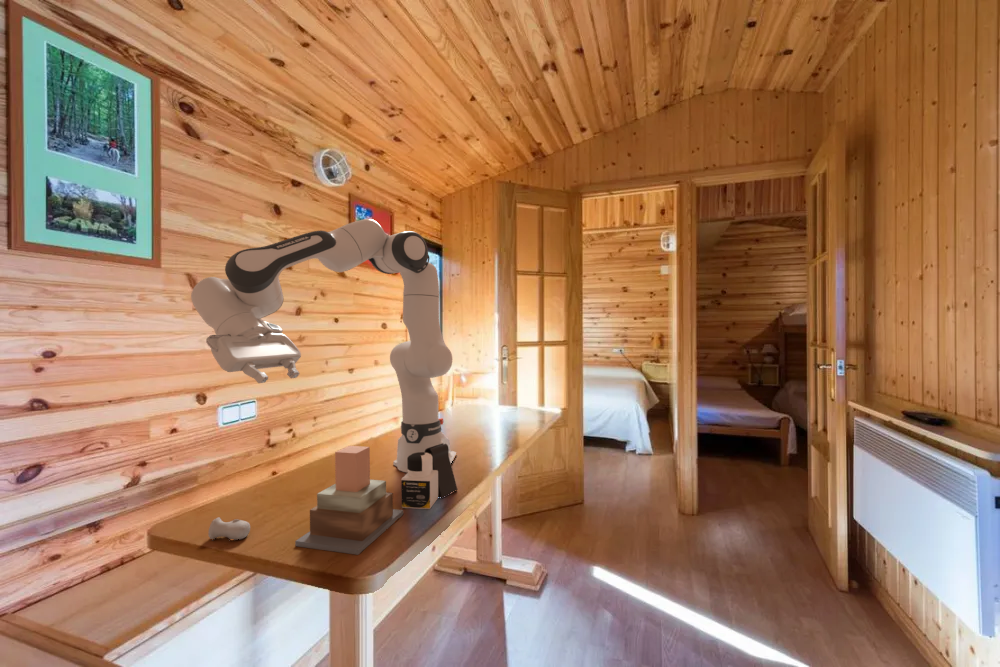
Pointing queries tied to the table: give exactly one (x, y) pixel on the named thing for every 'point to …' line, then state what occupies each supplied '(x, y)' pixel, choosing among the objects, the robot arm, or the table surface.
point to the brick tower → (351, 511)
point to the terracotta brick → (352, 468)
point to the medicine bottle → (419, 482)
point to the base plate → (345, 544)
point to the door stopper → (442, 469)
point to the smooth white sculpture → (229, 529)
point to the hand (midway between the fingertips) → (280, 378)
